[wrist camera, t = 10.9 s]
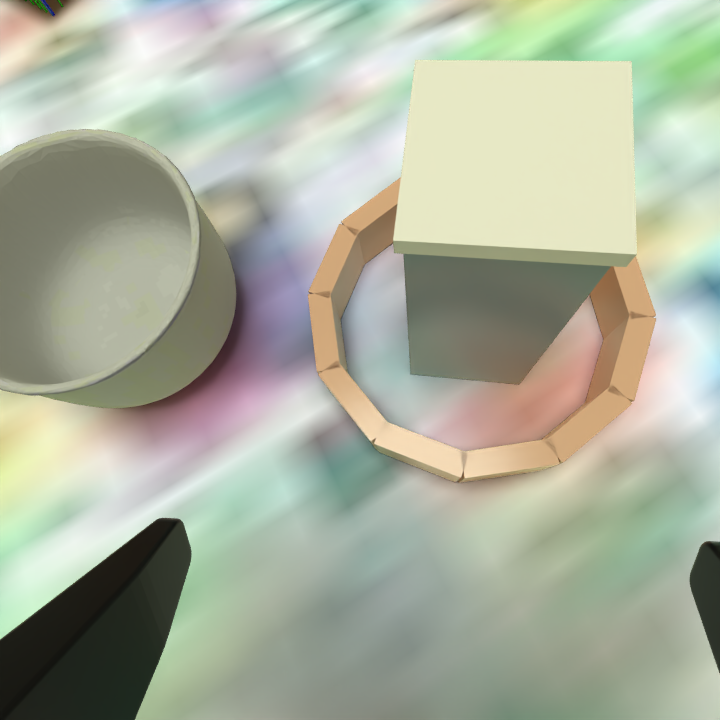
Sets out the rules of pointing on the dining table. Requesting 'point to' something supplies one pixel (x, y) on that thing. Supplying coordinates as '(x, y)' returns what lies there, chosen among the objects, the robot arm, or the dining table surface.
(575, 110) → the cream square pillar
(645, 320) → the tan polygonal ring
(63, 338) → the teacup
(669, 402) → the dining table surface
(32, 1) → the brown flat block
